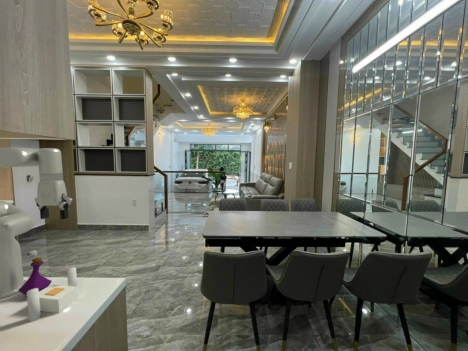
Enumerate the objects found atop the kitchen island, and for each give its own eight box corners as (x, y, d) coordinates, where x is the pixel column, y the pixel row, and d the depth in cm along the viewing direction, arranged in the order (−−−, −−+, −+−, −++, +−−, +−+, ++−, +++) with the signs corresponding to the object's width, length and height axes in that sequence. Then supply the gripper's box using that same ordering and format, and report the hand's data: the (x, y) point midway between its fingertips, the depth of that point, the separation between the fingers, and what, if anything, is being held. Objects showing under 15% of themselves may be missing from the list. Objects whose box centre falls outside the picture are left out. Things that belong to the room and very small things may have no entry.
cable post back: (66, 294, 89) (64, 270, 89) (73, 290, 92) (71, 267, 91) (73, 294, 89) (71, 271, 88) (79, 290, 92) (77, 267, 91)
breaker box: (31, 309, 80) (30, 296, 80) (52, 296, 88) (51, 284, 88) (59, 312, 78) (58, 299, 78) (78, 298, 86) (77, 286, 86)
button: (45, 304, 81) (44, 293, 81) (56, 297, 85) (55, 287, 85) (54, 305, 81) (54, 294, 80) (64, 298, 85) (64, 288, 84)
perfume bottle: (52, 288, 94) (49, 247, 92) (35, 299, 86) (31, 255, 85) (37, 287, 94) (33, 247, 93) (18, 298, 87) (14, 254, 86)
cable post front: (26, 321, 74) (24, 293, 74) (35, 314, 77) (33, 287, 77) (34, 322, 74) (31, 293, 73) (43, 315, 77) (40, 288, 76)
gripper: (24, 179, 89) (27, 220, 90) (61, 178, 86) (64, 221, 87) (43, 177, 96) (46, 215, 97) (77, 177, 93) (80, 216, 95)
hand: (54, 218), depth 92 cm, fingers open, 9 cm apart
